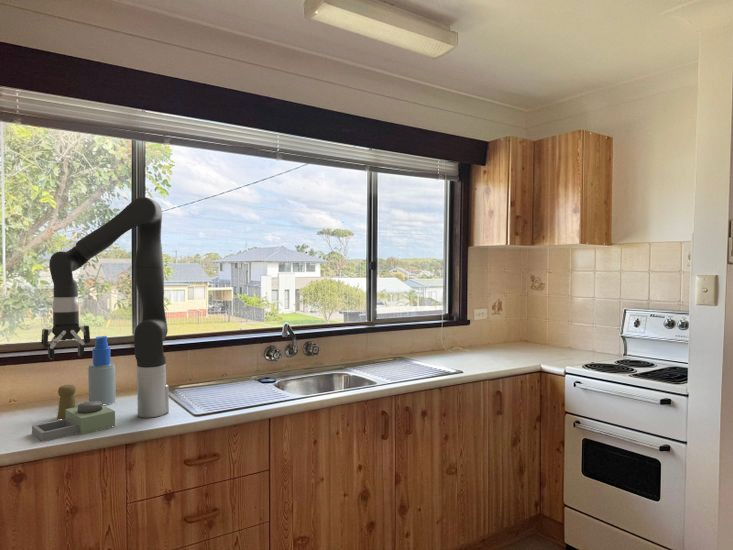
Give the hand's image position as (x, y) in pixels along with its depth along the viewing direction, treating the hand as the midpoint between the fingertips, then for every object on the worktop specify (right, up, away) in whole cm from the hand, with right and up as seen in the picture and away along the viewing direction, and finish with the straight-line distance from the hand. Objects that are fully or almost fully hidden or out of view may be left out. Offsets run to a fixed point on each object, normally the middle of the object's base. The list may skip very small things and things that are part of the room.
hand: (66, 357), depth 170 cm
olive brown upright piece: (0, -21, +1) cm, 21 cm away
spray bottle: (+3, -20, +18) cm, 27 cm away
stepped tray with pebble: (+9, -21, -12) cm, 26 cm away
